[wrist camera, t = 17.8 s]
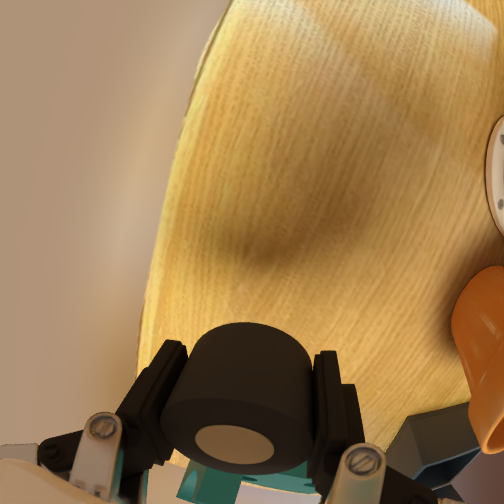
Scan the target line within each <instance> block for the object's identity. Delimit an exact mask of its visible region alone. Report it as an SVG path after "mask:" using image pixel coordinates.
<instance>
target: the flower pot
mask: <svg viewBox="0 0 504 504" xmlns="http://www.w3.org/2000/svg"><path fill="white" fill-rule="evenodd" d="M451 332H452V335H453V338H454V341H455V344H456V347H457V350H458V353H459V356H460V359H461V362H462V365H463V369H464V372H465V375H466V378H467V381H468V385H469V388H470V392H471V396H472V397H471V399H470V403H469V408H468V415H469V419H470V422H471V425H472V428H473V430H474V433H475V435H476V437H477V440H478V442H479V445H480V447H481V450H482V451H483V452H484V453H486V454H494V453H498V452H501V451H503V450H504V267H503V266H496V265H495V266H490V267H488V268H485V269H483V270H482V271H480V272H479V273H478V274H477V275H475V276H474V277H473V278H472V279H471V280H470V281H469V282H468V284H467V285H466V286H465V288H464V289H463V291H462V292H461V294H460V296H459V298H458V300H457V302H456V304H455V307H454V310H453V313H452V318H451Z"/></svg>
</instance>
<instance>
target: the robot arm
mask: <svg viewBox="0 0 504 504" xmlns="http://www.w3.org/2000/svg"><path fill="white" fill-rule="evenodd" d="M486 187H487V195H488V201H489V206H490V209H491V213H492V216H493V219H494V221H495V223H496V226H497V227H498V229H499V231H500V232H501V234H502V235H503V236H504V116H503V117H502V118H501V119H500V120H499V121H498V123H497V124H496V125H495V127H494V130H493V132H492V134H491V137H490V141H489V145H488V150H487V158H486ZM187 360H188V355H187V349H186V346H185V345H182V343H181V341H176V340H169V339H167V340H165V342H164V343H163V345H162V346H161V348H160V349H159V351H158V352H157V354H156V356H155V357H154V359H153V360H152V362H151V363H150V365H149V366H148V367H146V368H144V369H143V370H142V372H141V373H140V375H139V376H138V378H137V380H136V381H135V383H134V384H133V386H132V387H131V389H130V391H129V392H128V394H127V395H126V397H125V398H124V400H123V401H122V403H121V405H120V406H119V408H118V409H117V411H116V412H115V414H113V413H110V412H100V413H96V414H94V415H93V416H91V417H90V418H89V419H88V421H87V422H86V425H85V427H84V430H81V431H77V432H73V433H69V434H65V435H61V436H57V437H52V438H49V439H46V440H44V441H43V442H42V443H41V444H40V445H38V444H37V443H33V444H32V443H31V444H9V445H8V444H5V445H1V446H0V504H146V497H147V484H148V473H149V469H151V468H152V466H153V464H158V465H161V466H163V465H164V462H165V460H166V461H168V460H169V459H170V458H171V455H172V453H173V450H174V447H173V446H172V445H171V444H170V443H169V442H168V441H167V439H166V438H165V437H164V435H163V433H162V430H161V428H160V422H159V420H160V415H161V413H162V411H163V409H164V407H165V405H166V403H167V401H168V398H169V396H170V394H171V392H172V390H173V388H174V386H175V384H176V382H177V380H178V378H179V376H180V374H181V372H182V370H183V368H184V366H185V364H186V362H187ZM312 373H313V395H314V429H315V443H314V447H313V450H312V453H311V456H310V457H309V458H308V459H307V470H306V477H307V478H312V485H315V491H316V492H318V493H319V494H320V495H321V498H320V501H319V503H318V504H467V503H463V502H460V501H456V500H452V499H449V498H446V497H445V498H443V499H440V498H437V495H436V494H435V492H434V491H433V490H431V489H430V488H428V487H426V486H424V485H422V484H420V483H418V482H416V481H414V480H412V479H411V478H409V477H407V476H405V475H403V474H402V473H400V472H398V471H396V470H394V469H393V468H391V467H389V466H388V465H386V456H385V454H384V452H383V451H382V450H381V449H380V448H379V447H377V446H376V445H374V444H370V443H365V437H364V430H363V424H362V419H361V413H360V408H359V402H358V397H357V392H356V387H355V385H354V384H341V377H340V371H339V365H338V359H337V353H336V351H321V352H320V354H315V358H314V365H313V372H312Z"/></svg>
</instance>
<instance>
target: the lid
mask: <svg viewBox="0 0 504 504" xmlns="http://www.w3.org/2000/svg"><path fill="white" fill-rule="evenodd" d="M433 491H434V492H435V494H436V495H437V498H440V499H443V498H445V497H446V498H449V499H452V500H456V501H460V502H463V503H465V502H464V501H463V500H462V498H461V497H460V496H459V494H458V493H457V492H456V490H455V489H454V488H453V486H452V485H451V484H450V485H447V486H445V487H441V488H439V489H436V490H433Z"/></svg>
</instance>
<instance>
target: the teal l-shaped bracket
mask: <svg viewBox="0 0 504 504" xmlns="http://www.w3.org/2000/svg"><path fill="white" fill-rule="evenodd" d="M306 470H307V460H306V461H305V462H304V463H302V464H301V465H299V466H297V467H295V468H293V469H290V470H288V471H284V472H281V473H276V474H269V475H240V474H233V473H227V472H223V471H219V470H215V469H212V468H209V467H206V466H204V465H202V464H199V463H197V462H195V461H193V460H191V459H190V462H189V464H188V467H187V470H186V472H185V475H184V477H183V480H182V483H181V485H180V488H179V490H178V493H177V496H176V497H177V498H180V499H183V500H186V501H189V502H192V503H195V504H234V503H235V500H236V497H237V494H238V490H239V487H240V484H241V481H244V482H248V483H252V484H256V485H260V486H265V487H270V488H275V489H280V490H285V491H291V492H298V493H305V494H311V493H318V492H316V491H315V485H312V478H307V477H306Z"/></svg>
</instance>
